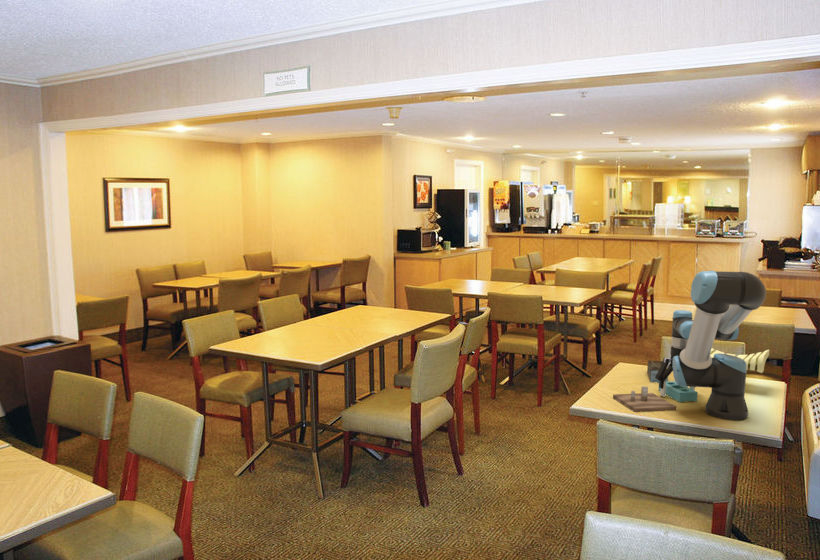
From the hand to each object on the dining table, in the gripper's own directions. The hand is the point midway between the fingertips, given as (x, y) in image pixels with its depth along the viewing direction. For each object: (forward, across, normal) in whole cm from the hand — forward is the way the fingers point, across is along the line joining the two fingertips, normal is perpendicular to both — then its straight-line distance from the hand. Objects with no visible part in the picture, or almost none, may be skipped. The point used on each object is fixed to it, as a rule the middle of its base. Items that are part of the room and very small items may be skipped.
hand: (677, 395), depth 274 cm
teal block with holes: (0, 0, 0) cm, 0 cm away
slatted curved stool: (+1, -31, -11) cm, 33 cm away
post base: (0, +20, +8) cm, 22 cm away
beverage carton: (+1, -7, -27) cm, 28 cm away
